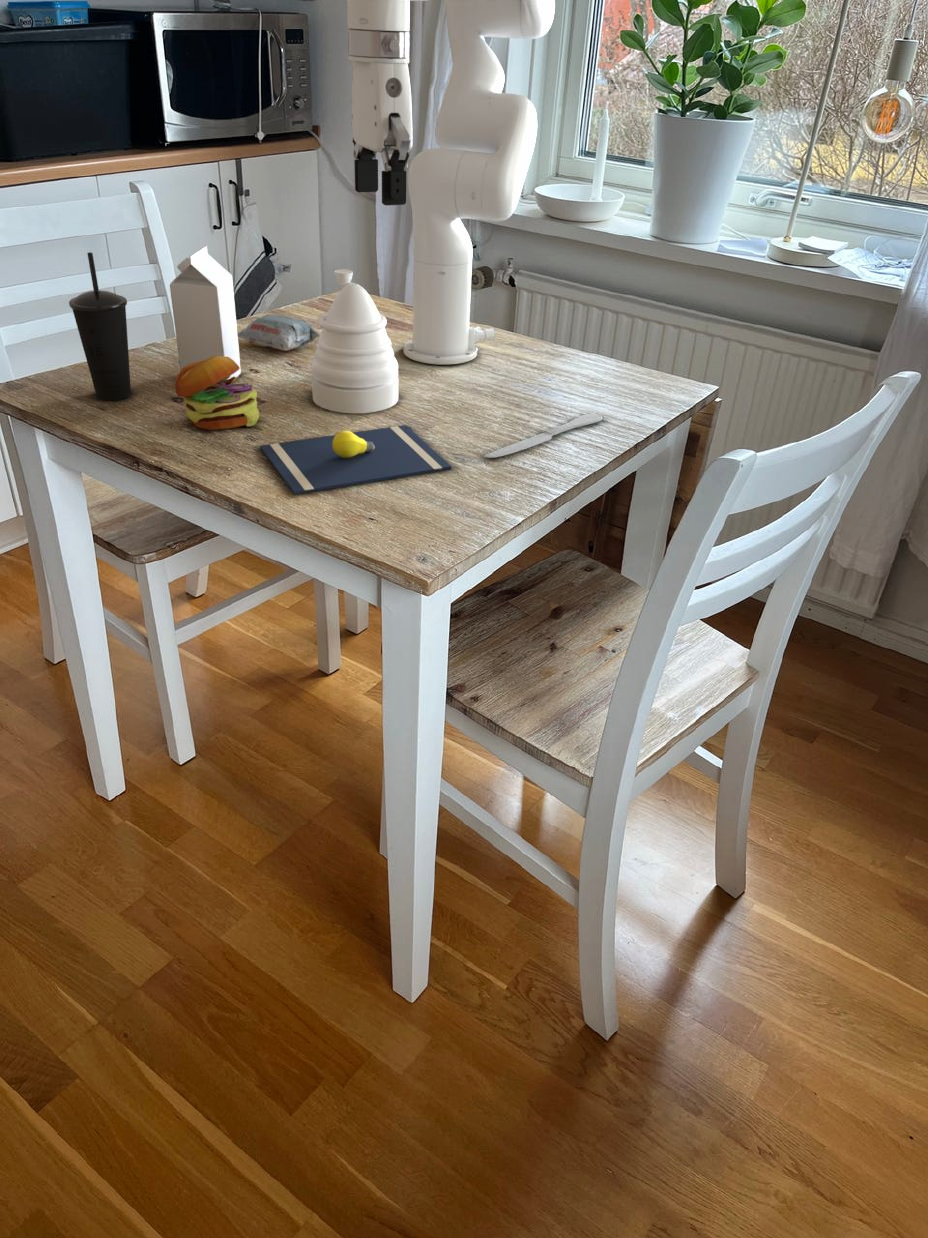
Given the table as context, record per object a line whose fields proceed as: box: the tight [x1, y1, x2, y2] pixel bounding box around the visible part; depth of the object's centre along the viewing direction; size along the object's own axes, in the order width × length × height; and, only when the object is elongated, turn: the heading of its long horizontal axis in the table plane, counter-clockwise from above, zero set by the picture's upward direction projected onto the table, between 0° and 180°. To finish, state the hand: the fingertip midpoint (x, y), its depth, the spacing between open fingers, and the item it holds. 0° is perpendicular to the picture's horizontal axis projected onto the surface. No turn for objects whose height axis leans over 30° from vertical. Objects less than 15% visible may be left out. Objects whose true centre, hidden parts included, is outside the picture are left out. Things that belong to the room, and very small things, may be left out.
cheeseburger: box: [174, 356, 260, 431], centre depth 130 cm, size 10×11×10 cm
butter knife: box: [483, 412, 603, 459], centre depth 132 cm, size 1×24×3 cm
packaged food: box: [237, 314, 321, 352], centre depth 159 cm, size 9×12×5 cm
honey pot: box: [310, 268, 399, 414], centre depth 137 cm, size 13×13×18 cm
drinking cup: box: [68, 251, 132, 402], centre depth 133 cm, size 8×8×20 cm
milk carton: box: [169, 245, 242, 380], centre depth 141 cm, size 7×7×19 cm
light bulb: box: [332, 430, 375, 458], centre depth 123 cm, size 3×6×4 cm, turn 123°
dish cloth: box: [259, 424, 452, 496], centre depth 123 cm, size 21×15×1 cm
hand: (380, 197), depth 125 cm, fingers open, 9 cm apart
